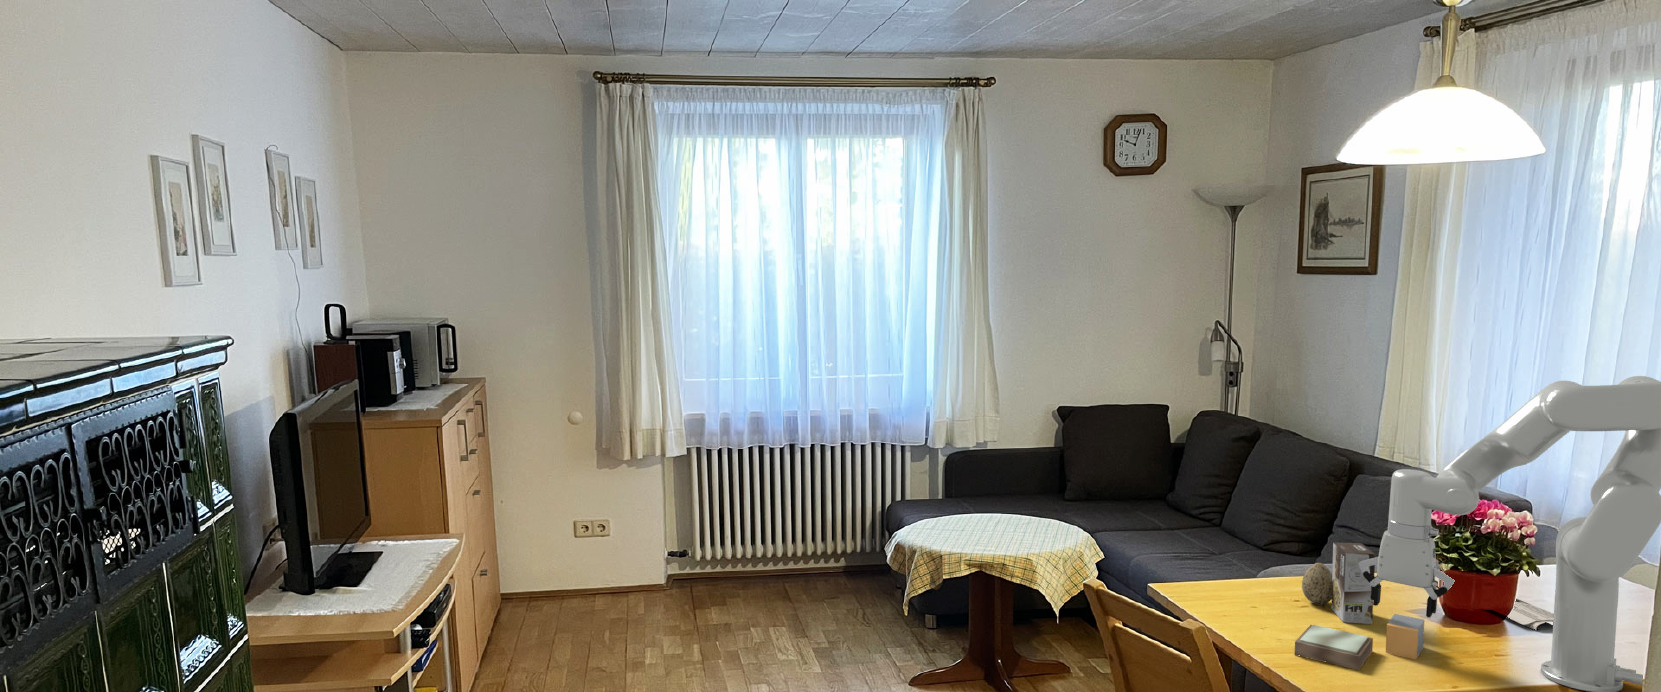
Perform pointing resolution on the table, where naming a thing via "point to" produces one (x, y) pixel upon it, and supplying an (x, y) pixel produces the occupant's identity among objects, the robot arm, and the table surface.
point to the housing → (1405, 636)
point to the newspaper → (1525, 613)
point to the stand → (1334, 646)
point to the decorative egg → (1317, 584)
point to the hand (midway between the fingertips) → (1402, 609)
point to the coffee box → (1351, 583)
